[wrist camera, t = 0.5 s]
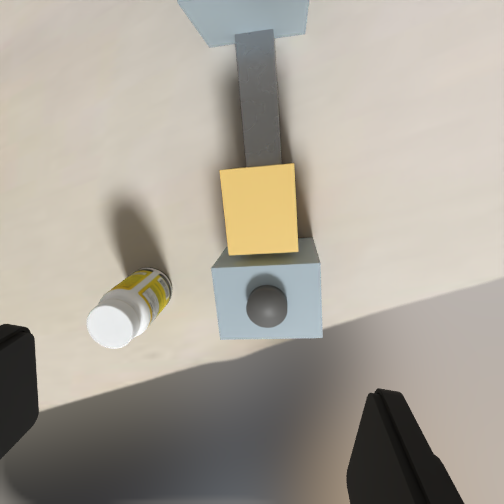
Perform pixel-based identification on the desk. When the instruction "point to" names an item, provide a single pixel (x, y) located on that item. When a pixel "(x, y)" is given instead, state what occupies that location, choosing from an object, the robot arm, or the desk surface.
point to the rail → (259, 97)
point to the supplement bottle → (129, 308)
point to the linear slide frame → (271, 264)
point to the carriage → (260, 209)
